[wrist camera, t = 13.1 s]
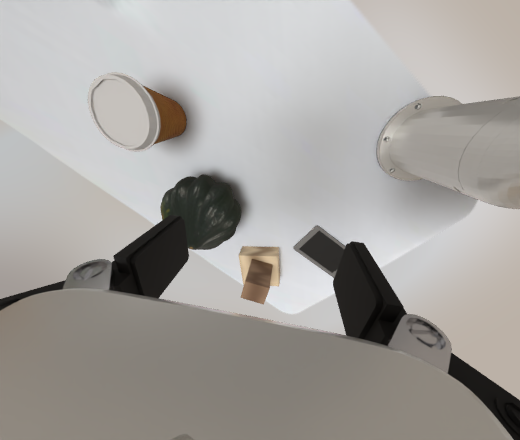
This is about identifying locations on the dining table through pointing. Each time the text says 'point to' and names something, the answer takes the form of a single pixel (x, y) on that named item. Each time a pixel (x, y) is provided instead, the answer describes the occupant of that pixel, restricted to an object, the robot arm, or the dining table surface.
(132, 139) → the disposable coffee cup
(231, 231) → the squash
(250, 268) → the walnut block
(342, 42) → the dining table surface
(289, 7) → the dining table surface
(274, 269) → the oak base block
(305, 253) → the smartphone
